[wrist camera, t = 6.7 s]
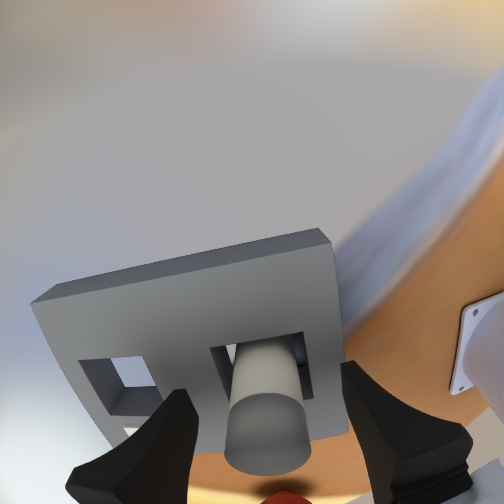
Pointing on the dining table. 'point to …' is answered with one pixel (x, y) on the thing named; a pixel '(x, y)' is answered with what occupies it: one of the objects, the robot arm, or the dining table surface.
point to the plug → (266, 409)
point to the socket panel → (200, 331)
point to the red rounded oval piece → (285, 498)
